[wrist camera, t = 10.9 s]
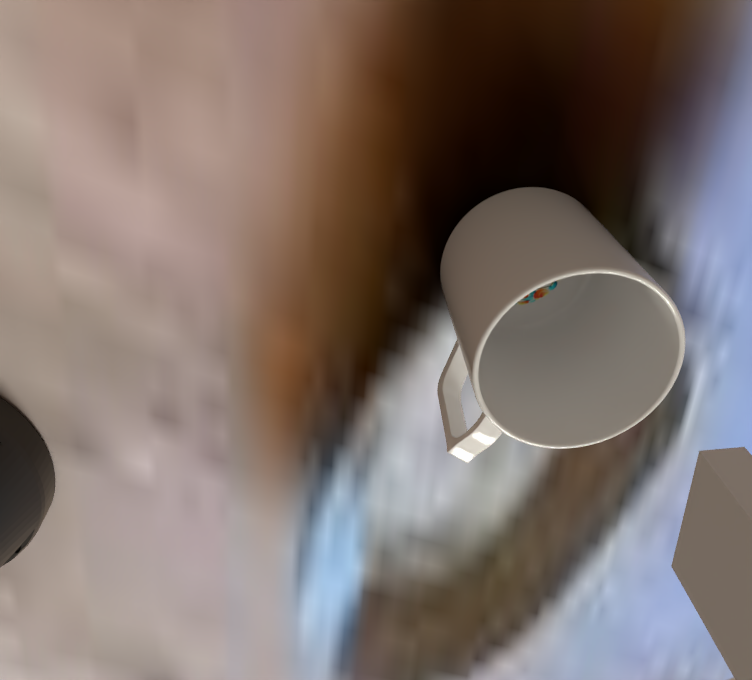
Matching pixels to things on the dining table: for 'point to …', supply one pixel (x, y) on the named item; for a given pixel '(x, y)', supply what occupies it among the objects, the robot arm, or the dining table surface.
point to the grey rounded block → (551, 326)
